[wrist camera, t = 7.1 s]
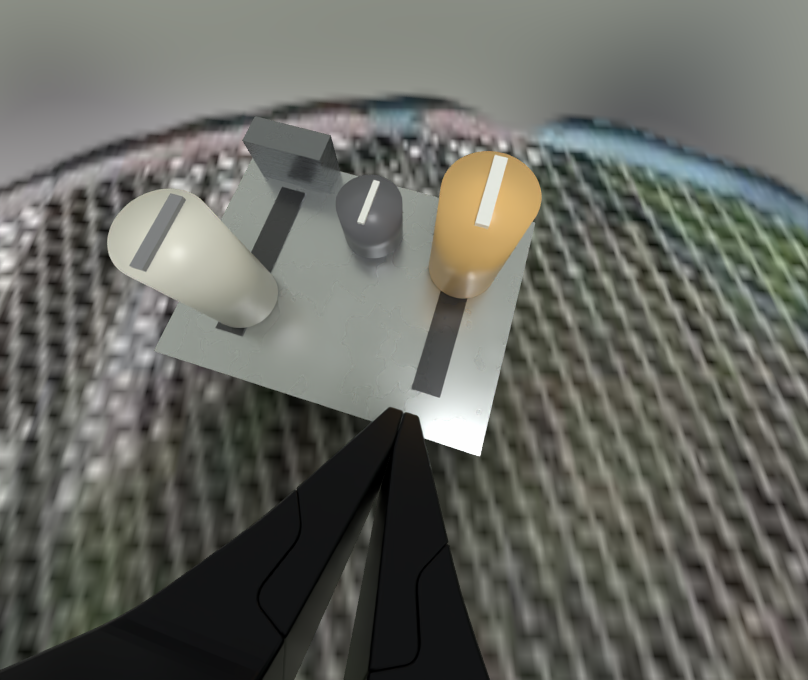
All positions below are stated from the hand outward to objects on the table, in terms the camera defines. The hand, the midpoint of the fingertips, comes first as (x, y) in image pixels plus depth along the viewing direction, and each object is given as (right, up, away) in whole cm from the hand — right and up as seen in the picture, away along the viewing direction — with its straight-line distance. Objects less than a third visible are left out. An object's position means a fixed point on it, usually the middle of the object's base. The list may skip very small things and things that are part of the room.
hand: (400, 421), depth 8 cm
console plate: (-3, +6, +13) cm, 15 cm away
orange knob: (+4, +7, +12) cm, 14 cm away
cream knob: (-10, +5, +11) cm, 16 cm away
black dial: (-2, +10, +13) cm, 16 cm away
